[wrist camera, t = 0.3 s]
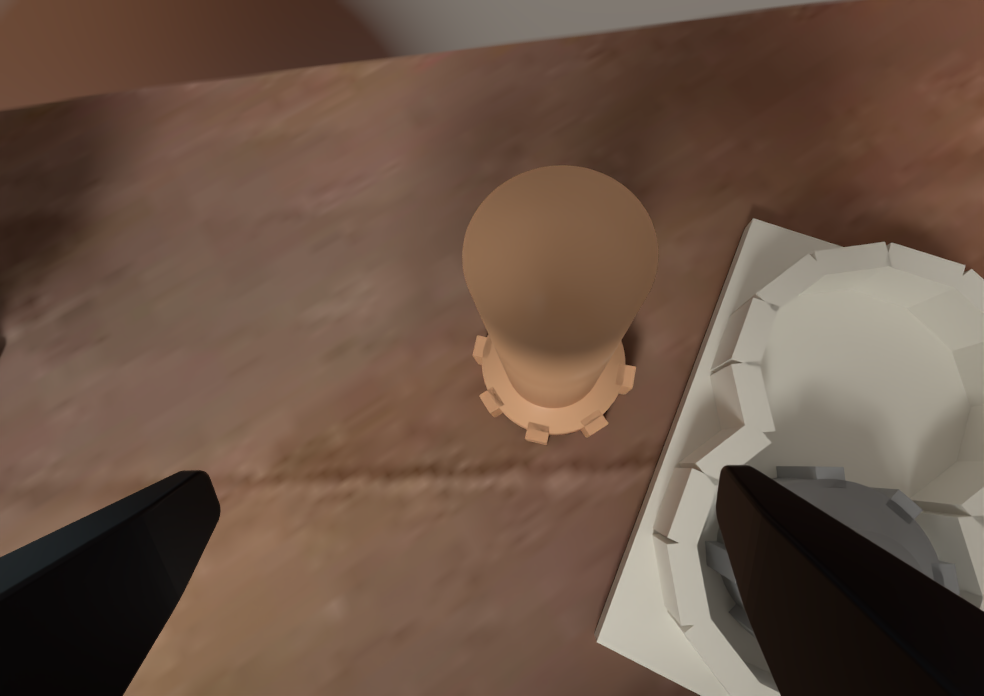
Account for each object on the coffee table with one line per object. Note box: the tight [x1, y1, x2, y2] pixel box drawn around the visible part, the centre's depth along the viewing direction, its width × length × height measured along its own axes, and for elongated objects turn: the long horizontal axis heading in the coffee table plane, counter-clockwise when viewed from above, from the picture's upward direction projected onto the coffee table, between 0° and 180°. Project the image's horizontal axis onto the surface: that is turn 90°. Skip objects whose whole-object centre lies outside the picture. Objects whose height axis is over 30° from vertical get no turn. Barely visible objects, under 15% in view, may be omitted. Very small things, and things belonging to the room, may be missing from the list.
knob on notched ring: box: [462, 165, 659, 445], centre depth 16 cm, size 7×7×13 cm
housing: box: [594, 218, 984, 696], centre depth 18 cm, size 19×12×6 cm, turn 156°
